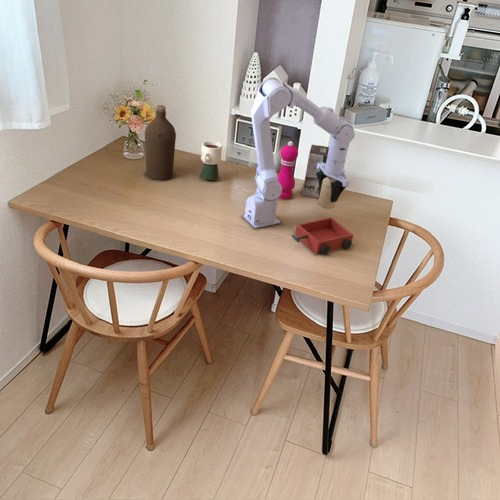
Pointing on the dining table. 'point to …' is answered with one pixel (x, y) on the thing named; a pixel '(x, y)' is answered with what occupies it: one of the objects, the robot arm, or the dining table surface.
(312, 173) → the coffee box
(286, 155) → the pepper mill
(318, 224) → the cart
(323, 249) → the cart wheels
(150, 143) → the olive oil
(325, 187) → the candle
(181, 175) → the dining table surface
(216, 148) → the character mug
